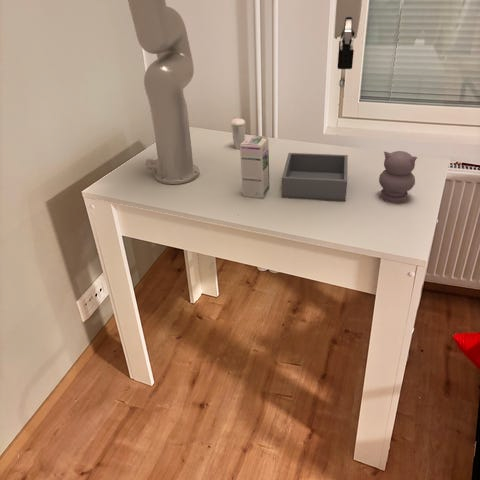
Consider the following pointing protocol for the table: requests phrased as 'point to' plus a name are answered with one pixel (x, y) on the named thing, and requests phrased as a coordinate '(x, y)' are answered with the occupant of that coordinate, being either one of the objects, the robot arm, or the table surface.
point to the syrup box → (255, 166)
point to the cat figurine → (397, 176)
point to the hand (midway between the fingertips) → (344, 63)
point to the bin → (315, 177)
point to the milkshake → (238, 131)
